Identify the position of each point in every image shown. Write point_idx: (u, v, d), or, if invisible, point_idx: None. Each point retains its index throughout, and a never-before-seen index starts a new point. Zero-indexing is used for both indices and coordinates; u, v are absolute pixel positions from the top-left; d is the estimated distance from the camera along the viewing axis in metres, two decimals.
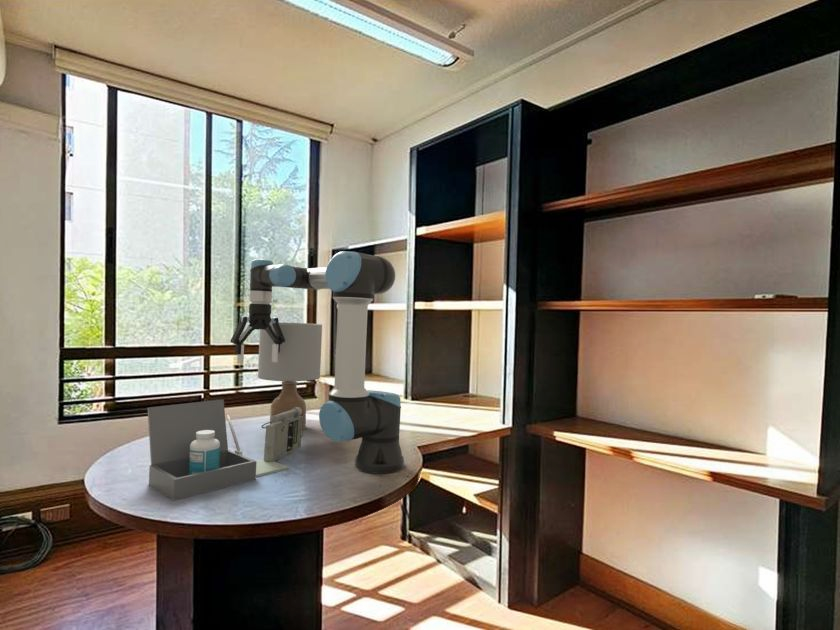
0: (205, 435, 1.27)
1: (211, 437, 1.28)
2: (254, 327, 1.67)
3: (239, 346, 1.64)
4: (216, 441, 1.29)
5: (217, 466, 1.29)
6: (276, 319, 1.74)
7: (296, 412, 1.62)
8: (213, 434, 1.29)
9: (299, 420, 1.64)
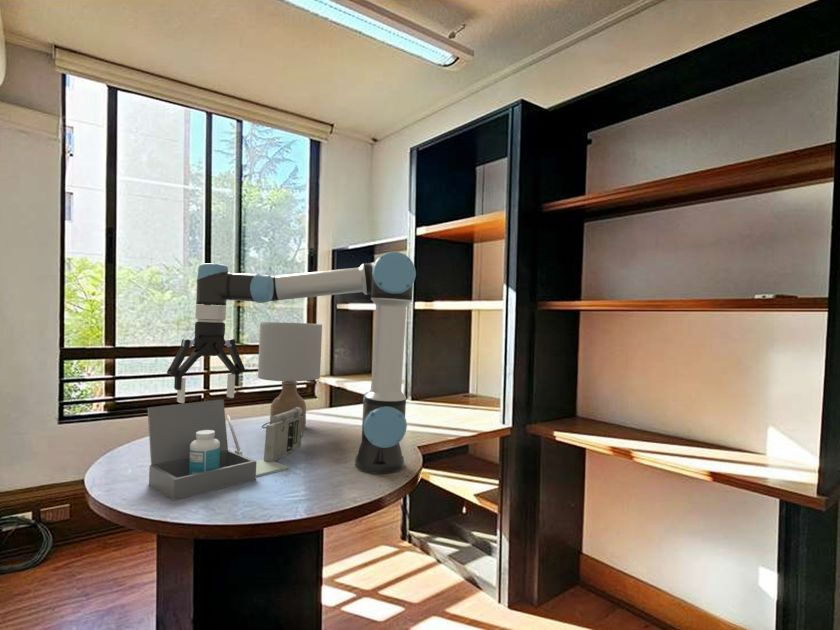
0: (205, 435, 1.27)
1: (211, 437, 1.28)
2: (200, 353, 1.26)
3: (179, 379, 1.23)
4: (216, 441, 1.29)
5: (217, 466, 1.29)
6: (232, 341, 1.33)
7: (296, 412, 1.62)
8: (213, 434, 1.29)
9: (299, 420, 1.64)
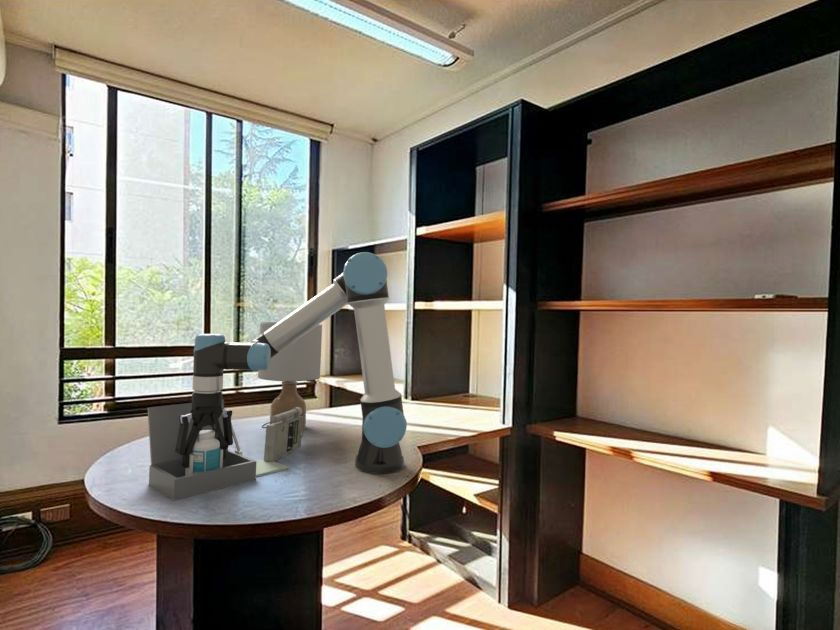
0: (205, 435, 1.27)
1: (211, 437, 1.28)
2: (200, 426, 1.26)
3: (187, 457, 1.25)
4: (216, 441, 1.29)
5: (217, 466, 1.29)
6: (229, 413, 1.33)
7: (296, 412, 1.62)
8: (213, 434, 1.29)
9: (299, 420, 1.64)
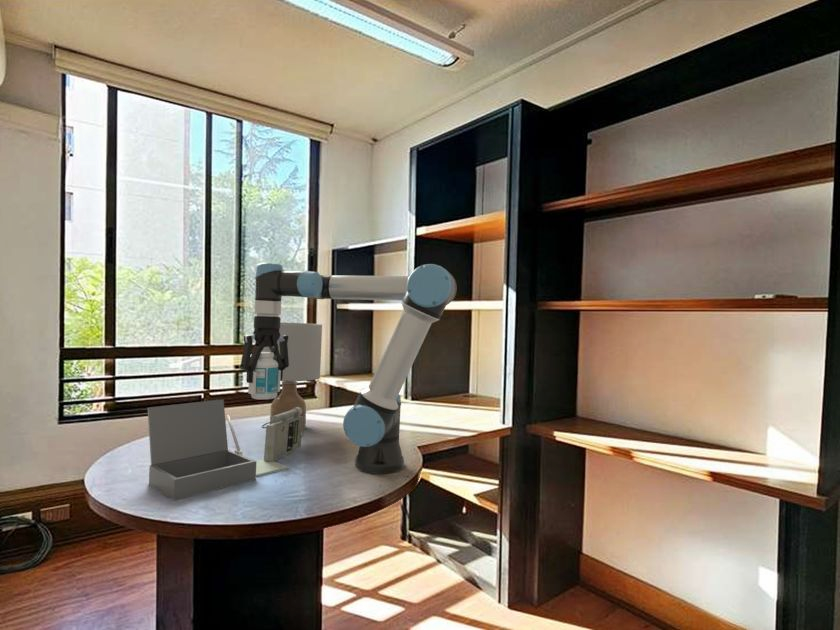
0: (266, 354, 1.40)
1: (271, 357, 1.41)
2: (262, 346, 1.39)
3: (251, 373, 1.38)
4: (275, 361, 1.42)
5: (276, 383, 1.42)
6: (286, 337, 1.46)
7: (296, 412, 1.62)
8: (273, 354, 1.42)
9: (299, 420, 1.64)
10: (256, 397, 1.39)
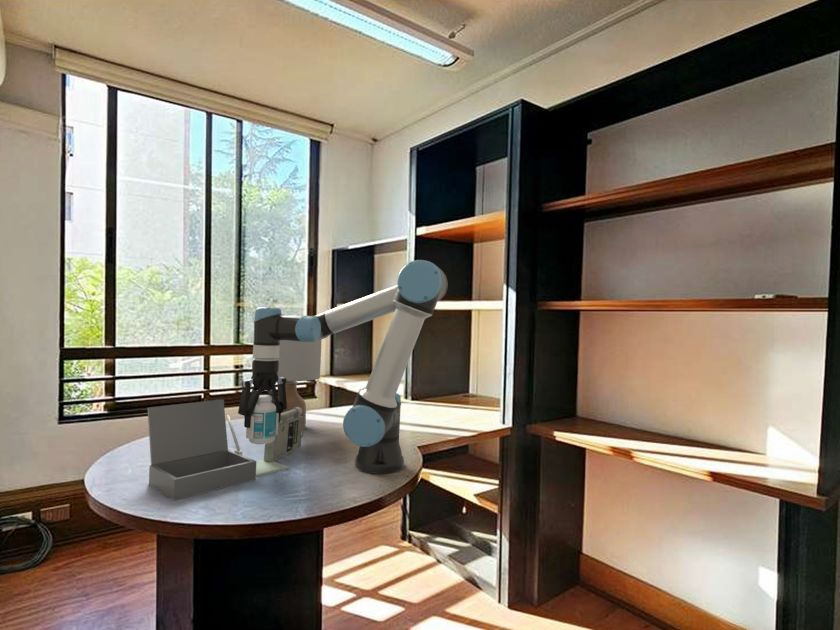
0: (264, 398, 1.40)
1: (269, 401, 1.41)
2: (260, 390, 1.39)
3: (248, 418, 1.38)
4: (273, 405, 1.42)
5: (274, 427, 1.42)
6: (284, 380, 1.46)
7: (296, 412, 1.62)
8: (271, 398, 1.42)
9: (299, 420, 1.64)
10: (254, 442, 1.39)
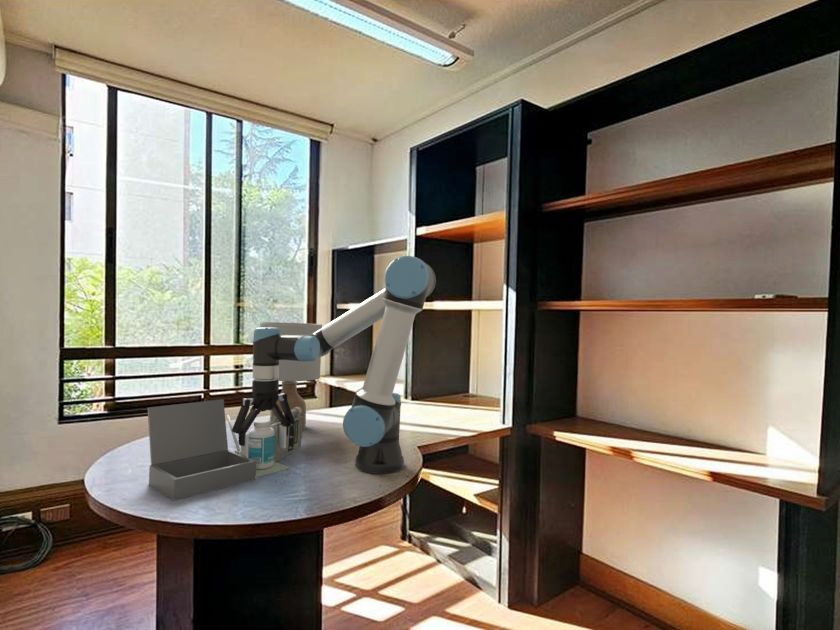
0: (262, 423, 1.40)
1: (267, 425, 1.41)
2: (259, 410, 1.39)
3: (243, 436, 1.36)
4: (272, 429, 1.42)
5: (273, 452, 1.41)
6: (285, 396, 1.46)
7: (296, 412, 1.62)
8: (269, 423, 1.42)
9: (299, 420, 1.64)
10: None
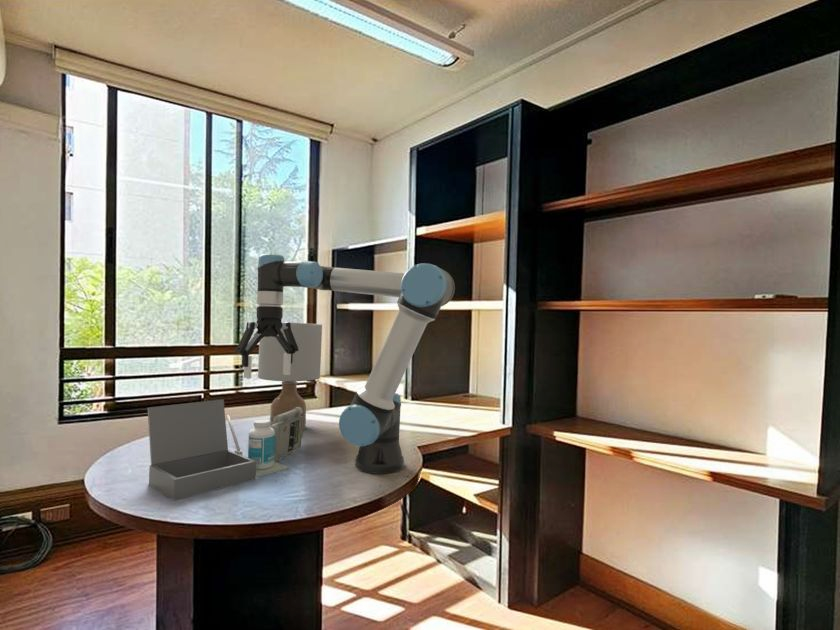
0: (262, 424, 1.40)
1: (267, 426, 1.41)
2: (263, 334, 1.41)
3: (246, 357, 1.38)
4: (272, 429, 1.42)
5: (273, 452, 1.41)
6: (288, 324, 1.48)
7: (297, 412, 1.62)
8: (269, 423, 1.41)
9: (300, 420, 1.64)
10: None
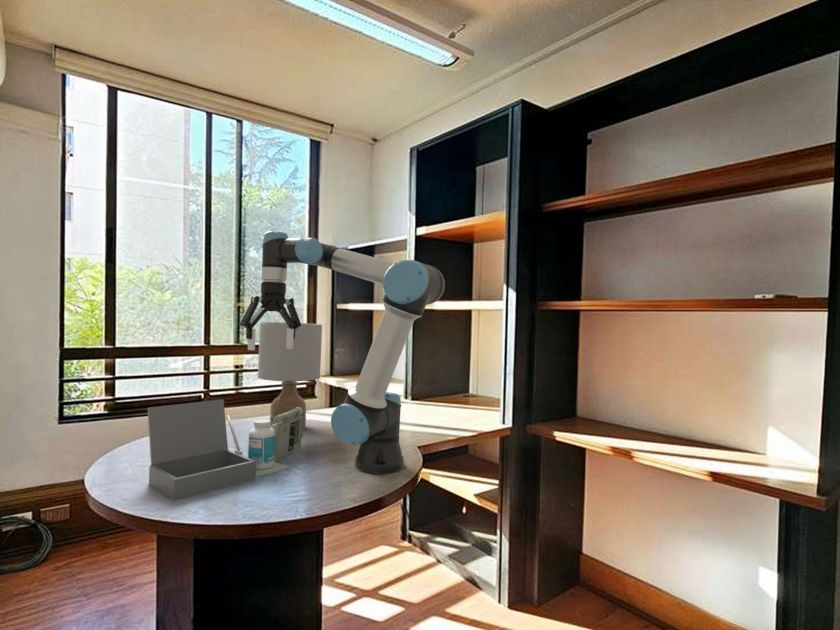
0: (263, 424, 1.40)
1: (268, 426, 1.41)
2: (267, 308, 1.47)
3: (250, 330, 1.44)
4: (272, 429, 1.42)
5: (273, 452, 1.41)
6: (291, 300, 1.54)
7: (297, 412, 1.62)
8: (269, 423, 1.42)
9: (300, 420, 1.64)
10: None
